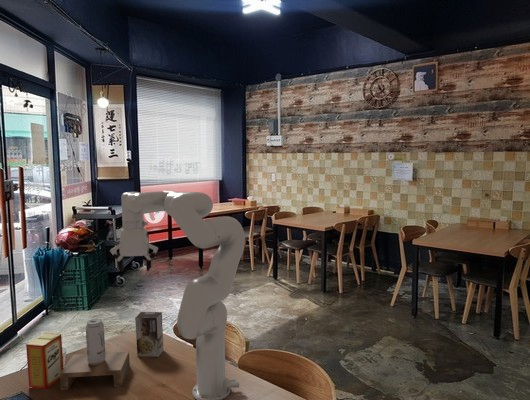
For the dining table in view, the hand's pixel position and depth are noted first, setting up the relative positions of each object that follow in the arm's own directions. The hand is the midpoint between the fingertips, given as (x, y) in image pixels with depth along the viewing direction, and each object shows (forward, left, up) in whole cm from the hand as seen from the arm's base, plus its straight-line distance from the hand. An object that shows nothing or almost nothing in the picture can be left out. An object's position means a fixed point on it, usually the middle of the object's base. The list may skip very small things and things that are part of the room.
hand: (135, 270), depth 162 cm
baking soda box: (+30, +10, -36) cm, 48 cm away
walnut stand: (+13, +10, -36) cm, 40 cm away
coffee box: (-3, -8, -36) cm, 37 cm away
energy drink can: (+13, +10, -31) cm, 34 cm away
